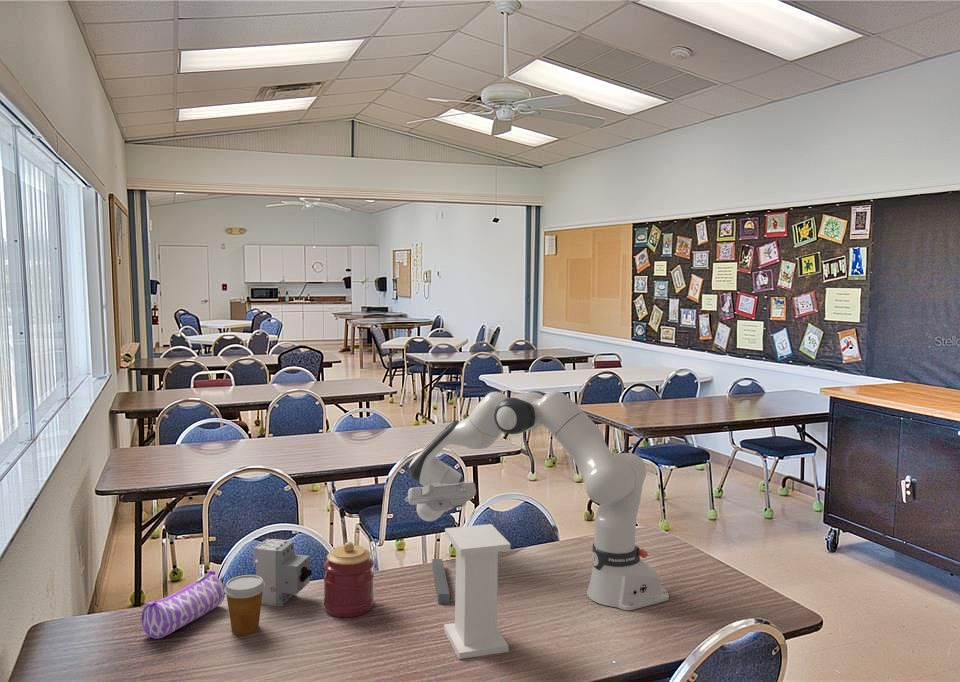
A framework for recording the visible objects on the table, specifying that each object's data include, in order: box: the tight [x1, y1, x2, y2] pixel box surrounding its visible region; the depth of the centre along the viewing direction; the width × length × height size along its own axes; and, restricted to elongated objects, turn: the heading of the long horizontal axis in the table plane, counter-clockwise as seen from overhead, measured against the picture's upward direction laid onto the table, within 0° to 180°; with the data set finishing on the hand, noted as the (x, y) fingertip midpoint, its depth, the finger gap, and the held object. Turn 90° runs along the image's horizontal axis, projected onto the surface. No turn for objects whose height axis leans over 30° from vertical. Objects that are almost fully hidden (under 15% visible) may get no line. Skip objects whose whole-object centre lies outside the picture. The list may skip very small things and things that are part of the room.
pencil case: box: [140, 570, 226, 640], centre depth 179 cm, size 22×9×10 cm, turn 161°
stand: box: [443, 523, 512, 660], centre depth 170 cm, size 12×14×26 cm
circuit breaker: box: [252, 538, 313, 607], centre depth 191 cm, size 8×14×15 cm, turn 78°
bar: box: [431, 558, 451, 605], centre depth 203 cm, size 3×24×3 cm, turn 8°
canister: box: [323, 541, 375, 618], centre depth 187 cm, size 13×13×18 cm
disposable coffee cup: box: [224, 574, 265, 636], centre depth 175 cm, size 10×10×12 cm
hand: (447, 486), depth 205 cm, fingers open, 8 cm apart
